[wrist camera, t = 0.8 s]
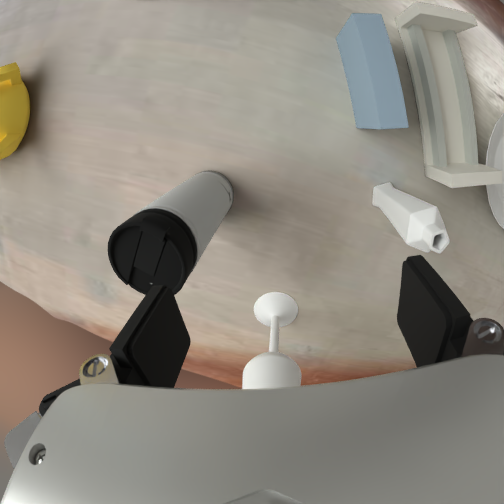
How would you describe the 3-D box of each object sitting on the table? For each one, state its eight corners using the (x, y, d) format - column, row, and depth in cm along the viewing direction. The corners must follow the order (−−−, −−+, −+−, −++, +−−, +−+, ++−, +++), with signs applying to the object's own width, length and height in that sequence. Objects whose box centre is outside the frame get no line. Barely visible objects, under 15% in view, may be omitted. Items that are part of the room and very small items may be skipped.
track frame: (394, 19, 23) (415, 1, 17) (447, 26, 21) (473, 14, 15) (425, 176, 32) (451, 188, 25) (473, 172, 30) (502, 183, 24)
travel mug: (243, 181, 35) (201, 246, 17) (221, 225, 37) (168, 320, 19) (198, 160, 34) (113, 201, 16) (179, 204, 37) (96, 280, 19)
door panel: (335, 38, 26) (352, 13, 18) (358, 37, 25) (381, 14, 17) (356, 128, 30) (380, 129, 22) (378, 126, 30) (408, 127, 22)
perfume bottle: (382, 171, 32) (440, 203, 19) (405, 192, 33) (466, 235, 19) (361, 198, 34) (406, 246, 20) (384, 218, 35) (434, 273, 21)
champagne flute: (278, 334, 44) (270, 474, 23) (244, 312, 43) (215, 457, 21) (307, 307, 42) (318, 457, 20) (272, 283, 40) (258, 438, 19)
